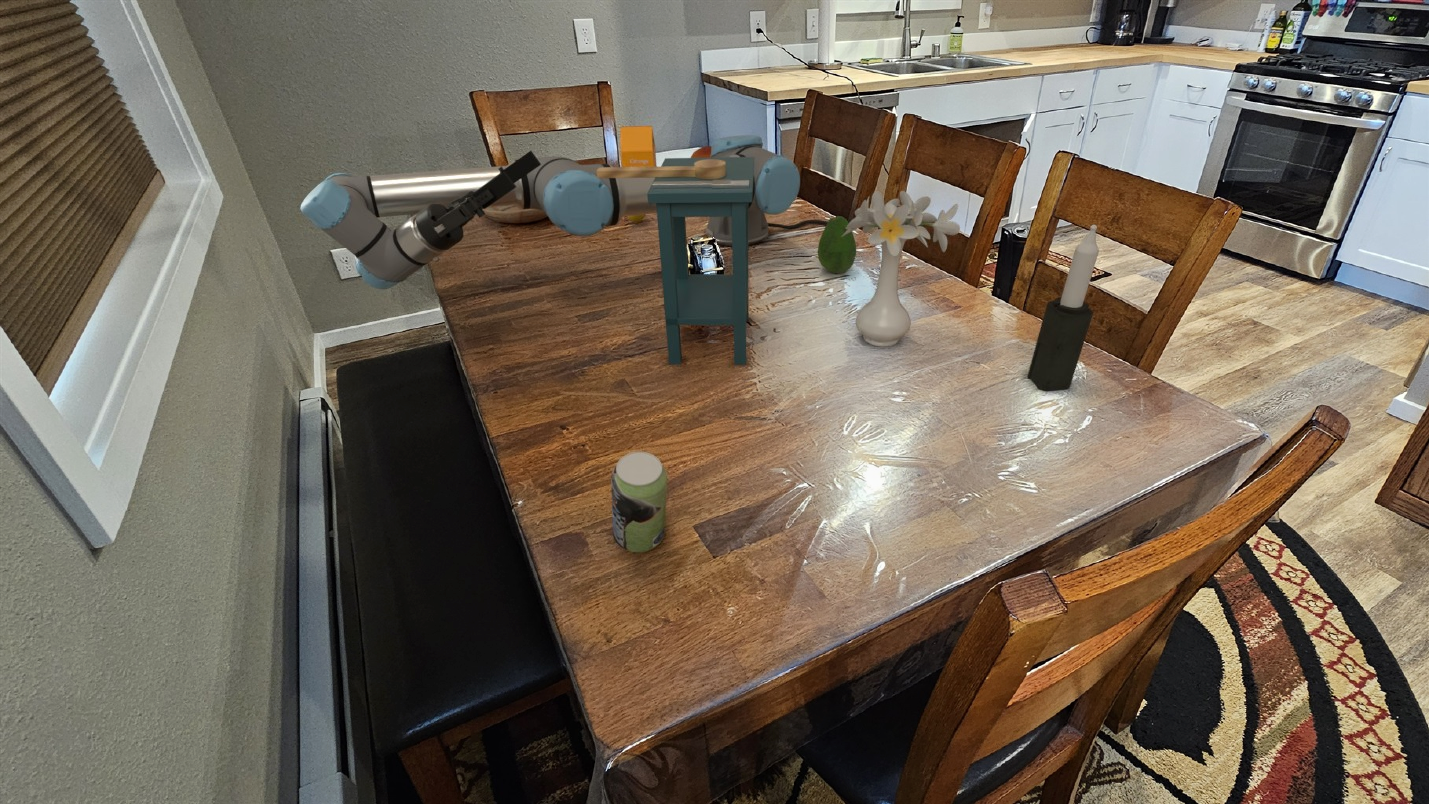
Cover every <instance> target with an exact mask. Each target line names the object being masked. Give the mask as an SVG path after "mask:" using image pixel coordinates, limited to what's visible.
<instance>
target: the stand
mask: <svg viewBox="0 0 1429 804" xmlns="http://www.w3.org/2000/svg"><path fill="white" fill-rule="evenodd" d="M706 159H717V160H722V161H725V162H726V175H725V176H724V177H722V178H718V179H699V178H696V177H655V179H654V181H653V183H654V182H666V181H713V180H749V188H724V189H712V188H653V183H652V185H651V187H650V189H649V191H648V193H647V198H648V203H656V210H657V213H656V220H657V232H658V246H659V257H660V269H661V270H660V271H661V282H662V293H663V294H662V295H663V308H664V318H665V320H664V321H665V331H666V344H667V354H668V355H667V356H668V365H669V366H670V365H675V366H676V365H677V366H678V365H681V364H682V361H683V355H682V354H683V352H682V337H681V326H733V365H734V366H747V322H749V318H750V317H749V315H750V314H749V309H750V307H749V305H750V302H749V299H750V298H749V296H750V295H749V293H750V291H749V285H750V284H749V283H750V280H749V278H750V277H749V273H750V272H749V245H748V202H752V196H753V179H754V157H716V158H691V157H669V158H668V157H665V158H664V160H663V162H662V163H661V166H660V167H666V166H694V163H695V162H697V161H700V160H706ZM731 216H732V246H731V249H732V253H731V254H732V255H731V256H732V261H731V262H732V273H729V274H728V273H727V274H726V273H725V274H723V273H721V274H716V273H715V274H713V273H712V274H711V273H709V274H707V273H706V274H703V273H702V274H695V273H694V274H689V259H688V256H689V255H688V241H687V223H686V222H687V221H686V218H710V217H731Z"/></svg>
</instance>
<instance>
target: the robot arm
mask: <svg viewBox="0 0 1429 804" xmlns="http://www.w3.org/2000/svg"><path fill="white" fill-rule="evenodd" d="M710 146H711V158H716V157H754V179H753V196H752V202H748V246H752V245H753V246H754V245H757V244H760V243H762V242H765V241H766V240H767V239H768V238H769V235H770V229H769V228H778V229H784V230H793V229H797V228H799V227H801V226H804V225H808V224H820V225H825V226H826V225H827V223H828V221H829V220H828V221H826V220H822V219H808V220H802V221H800V222H797V223H795V224H792V225H791V224H789V225H785V224H780V223H770V222H768V220H767V218H766V215H771V216H775V215H780V214H782V213H785V212H787V210H789V208H790V207H792V204H793V203H794V202H795V201H796V199H797V198H798V195H799V192H800V189H801V176H800V171H799V169H798V167H797V165H796V164H795V162H793V161H792V160H790V159H789V158H787V157H786V156H785V155H781V154H777V153H775V152H773V151H770V150H767V149H766V148H763V146H764V143H763V139H762V137H761V136H760V135H756V134H746V135H745V134H744V135H732V136H726V137H720V138H717V139H715V140H713V141H712V143H711V145H710ZM601 167H613V165H611V164H610V163H595V164H580V163H578V162H577V161H575V160H574V159H571V158H569V157H566V156H558V155H557V156H556V155H555V156H542V157H541V156H539V157H537V156H536V155H535V153H534V152H533V151H532V150H529V151H528V152H527V153H525V154H524V155H522V156H521V157H519V158H518V159H512V160H511V161H510V162H509V163H508V164H507V165H500V166H498V165H497V166H485V167H471V168H457V169H444V170H443V169H442V170H430V171H415V172H401V173H389V174H375V175H374V174H373V175H359V176H353V175H352V174H349V173H345V172H336V173H333V174H330V175H328V176H327V177H326V178H325V179H324V180H323V181H322V182H320V183H319V184H317V186H315V187H314V188H313V189H312V190H311V191H310V192H309V193H308V194H307V196H305V197H304V199H303V201H302V202H301V203H300V206H299V207H300V208H299V209H300V212H301V213H302V214H303V216H305V217H306V218H307V219H308V220H309V221H310V222H311V223H313V225H314V226H315V227H316V228H318V229H320V230H322V231H323V232H324V233H325V234H327V235H328V236H329V237H331V238H332V239H333V240H334V241H335V242H337V243H338V244H340V246H342V247H343V248H345V249H346V250H348V251H349V252H350V253H351V254H352V255H354V256H355V258H356V259H355V269H356V272H357V274H358V275H359V276H361V277H362V280H363V282H364V283H366V284H367V285H369V286H370V287H372V288H374V289H377V290H388V289H391V288H393V287H394V286H396V285H398V284H399V283H403V282H404V281H405V280H407V279H408V278H409V277H410V276H412V275H413V274H414V273H416V272H417V271H419V270H420V269H422V268H423V267H424V266H426V265H428V264H429V263H430V262H431V261H434V262H435V263H437V262H439V261H440V257H439V256H441V255H442V254H444V253H445V251H448V250H450V249H451V248H453V247H455V246H456V245H457V244H459V243H461V241H462V240H463V239H464V229H463V228H464V227H465V226H466V225H468V223H469V222H470V221H472V220H473V219H474V218H475V216H477V217H478V218H479V219H480V218H482V217H483V216H485V214H486V213H485V212H484V211H483V210H482V209H485V208H489V207H500V206H511V205H514V206H516V207H517V208H519V209H520V210H524V209H537V210H542V211H544V212H545V213H546V214H547V216H548V217H547V218H548V219H549V220H550V221H551V222H552V224H553V225H555V226H556V227H557V228H559V230H561V231H564V232H565V233H567V234H569V235H572V236H577V237H588V236H592V235H595V234H597V233H599V232H601V231H602V230H604V228H605V227H612V226H617V225H619V224H620V222H621V221H622V219H623V218H625V217H627V216H633V215H643V214H646V215H652V214H657V210H656V203H648V198H647V193H648V191H649V189H650V187H651V185H652V183H653V181H654V179H655V177H651V178H597V169H598V168H601ZM410 215H411V217H410V218H408V219H406V220H405V221H403V222H402V223H401V224H400V225H399V226H397V227H396V228H395V229H393V230H392V229H391V228H390V227H389V226H387V224H386V223H384V222H383V221H382V220H380V218H385V217H386V218H387V217H399V216H410ZM855 217H856V216H854V217H852V218H850V219H848V220H847V221H848V223H850V222H851V221H852V220H853V219H855ZM705 232H706V233H705V234H706V238H707V237H714V238H715V239H716V240H717V244H716V245H718V246H719V245H720V246H725V247H732V216H731V217H708V222H707V225H706V229H705Z"/></svg>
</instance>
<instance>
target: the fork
mask: <svg viewBox="0 0 1429 804" xmlns="http://www.w3.org/2000/svg"><path fill="white" fill-rule="evenodd" d="M653 188H712V189H724V188H749V180H713V181H666V182H654V183H653Z"/></svg>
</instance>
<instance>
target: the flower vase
mask: <svg viewBox="0 0 1429 804" xmlns="http://www.w3.org/2000/svg"><path fill="white" fill-rule="evenodd" d="M931 200H932V199H931V197H929V196H927V195H924V196H921V197H919V198H918V199H917V200H915V202H914V201H913V200H912V197H911V196H910V195H909V193H908V192H906V191H905V190H901V191H900V192H899V198H893V199H891V200H889V201H888V202H887V203H886V204H885V199H884V196H883V194H882V193H881V192H880V191H879V190H876V191H874V192H873V193H872V196H871V200H870V196H868V197H867V199H864V200H863V201H862V203H861V205H860V207H859V208H857V209H855V211H854V215H855V216H854V217H855V219H853V220H852V221H851V222H850V223H849V224H848V225H847V227H846V229H848V230H847V231H846V232H845V233H844V234H843V235H842V236H844V235H846V234H848V233H850V232H851V231H852V232H853V231H856V230H859V229H860V228H862V233H863V234H867V233H870V232H871V231H873V230H874V229H876V228H878V229H876V230H875V231H873V232H872V233H871V234H870V235H869V237H868V239H867V242H868V244H870V245H872V246H875V245H881V262H880V267H879V268H880V270H879V276H878V280H877V285H876V288H875V291H874V293H873V295H872V297H871V299H870V300H869V301H867V303H865V304H864V305H863V306H862V307H861V308H860V309H859V311H858V312H857V314H856V316H855V317H856V318H855V321H854V323H855V325H856V329H857V330H858V331H859V333H860V334H861V335H862V337H863V340H864V341H865V342H866V343H867V344H869V345H871V346H875V347H880V348H881V347H882V348H883V347H885V348H886V347H892V346H895V345H896V344H897V343H899V341H900V339H901V338H902V337H904V336H905V335H906V334H907V333H908V332H909V331H910V329H911V324H912V320H911V316H910V314H909V312H908V310H907V308H906V307H904V306H903V304H902V303H901V300H900V297H899V289H898V287H899V271H900V262H901V257H902V253H903V249H904V246H905V244H906V241H907V240H912V239H915V238H916V239H917V240H918V241H920V242H921V243H922V244H923V245H924V246H925V247H926V248H929V244H928V243H927V241H926V240H931V234H930V233H929V231H928V230H927V228H926V227H924V226H928V227H929V226H930V227H932V228H933V234H932V235H933V236H932V242H933V243H936V242H938V243H939V246H940V249H941V250H940V251H942V253H945V252H946V251H947V248H948V237H947V235H949V236H956V235H957V234H959V233H960V231H961V226H960V224H959V223H957V222H955V221H951V220H952V219H953V218H954V217H955V216H956V214H957V212H958V209H959V204H958V203H955V204H953V205H952V206H951V207H950V208H949V209H948V210H947V211H946V212H945V210H944V209H942V210H940V212H939V214H938V217H936V216H935V215H934V214H932V213H929V212H924V211H926V209H928V207H929V206H930V204H931ZM870 201H871V202H870ZM869 202H870V203H871V208H870V207H869ZM900 203H901V205H900ZM899 205H900V206H899ZM842 236H841V237H842Z"/></svg>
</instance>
